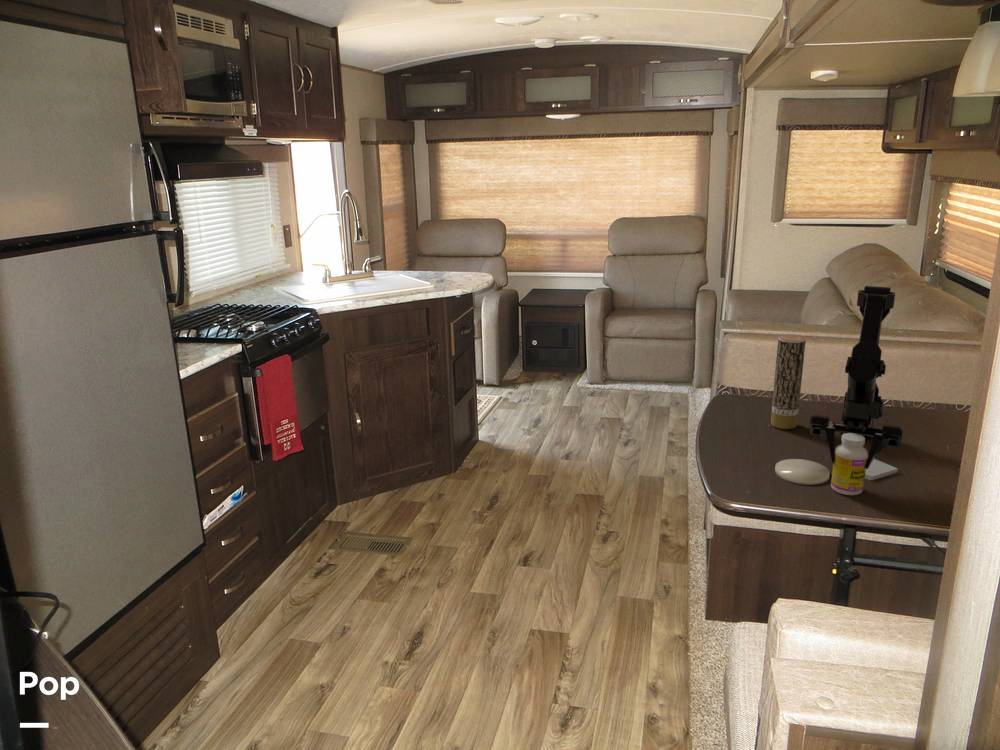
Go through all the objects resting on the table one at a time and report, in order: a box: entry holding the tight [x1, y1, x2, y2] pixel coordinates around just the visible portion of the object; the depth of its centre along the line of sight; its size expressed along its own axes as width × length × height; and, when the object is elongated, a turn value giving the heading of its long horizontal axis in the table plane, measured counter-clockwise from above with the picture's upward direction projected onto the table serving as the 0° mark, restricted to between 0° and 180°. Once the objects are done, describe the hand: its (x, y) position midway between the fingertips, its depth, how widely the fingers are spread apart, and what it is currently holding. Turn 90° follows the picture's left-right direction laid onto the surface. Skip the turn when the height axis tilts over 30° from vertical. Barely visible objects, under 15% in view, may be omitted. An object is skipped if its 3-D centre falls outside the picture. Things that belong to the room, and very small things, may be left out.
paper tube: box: [770, 333, 807, 430], centre depth 203 cm, size 7×7×25 cm
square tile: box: [865, 458, 899, 481], centre depth 180 cm, size 9×9×1 cm
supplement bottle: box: [830, 433, 869, 496], centre depth 168 cm, size 7×7×13 cm
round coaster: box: [774, 458, 831, 486], centre depth 179 cm, size 12×12×1 cm
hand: (849, 465), depth 167 cm, fingers closed on supplement bottle, 7 cm apart
